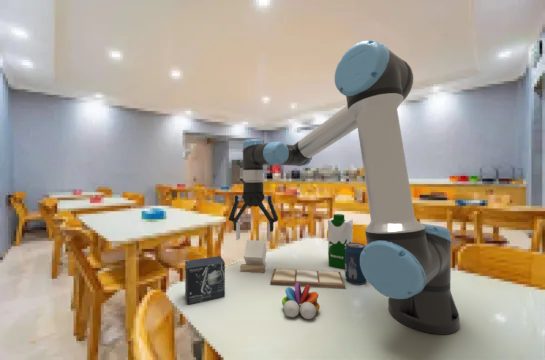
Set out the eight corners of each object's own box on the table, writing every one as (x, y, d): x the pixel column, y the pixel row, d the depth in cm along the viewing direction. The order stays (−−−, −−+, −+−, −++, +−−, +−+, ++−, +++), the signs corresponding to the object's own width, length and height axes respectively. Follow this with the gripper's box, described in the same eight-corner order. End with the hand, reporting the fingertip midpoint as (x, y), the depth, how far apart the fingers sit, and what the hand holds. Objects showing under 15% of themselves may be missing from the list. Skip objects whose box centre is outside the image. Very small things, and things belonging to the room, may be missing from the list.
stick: (264, 272, 89) (264, 267, 89) (240, 271, 90) (240, 266, 90) (265, 270, 91) (265, 265, 91) (241, 269, 92) (241, 264, 92)
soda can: (363, 276, 85) (363, 242, 85) (369, 285, 78) (369, 248, 78) (343, 275, 85) (343, 241, 85) (347, 284, 79) (347, 247, 78)
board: (345, 288, 76) (345, 284, 76) (270, 284, 79) (270, 280, 79) (340, 274, 87) (340, 270, 87) (274, 271, 90) (274, 267, 90)
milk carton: (325, 266, 94) (325, 214, 94) (333, 259, 102) (333, 211, 102) (348, 271, 90) (348, 216, 89) (354, 263, 97) (354, 213, 97)
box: (187, 306, 66) (186, 268, 66) (184, 295, 72) (184, 260, 72) (225, 297, 71) (225, 261, 71) (220, 288, 77) (220, 255, 77)
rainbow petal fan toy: (319, 323, 58) (319, 293, 58) (279, 318, 60) (279, 289, 60) (319, 305, 67) (319, 278, 67) (284, 301, 69) (284, 275, 69)
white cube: (262, 257, 90) (264, 240, 95) (243, 256, 91) (247, 240, 96) (264, 266, 95) (266, 250, 100) (246, 265, 96) (249, 249, 101)
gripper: (285, 181, 94) (285, 238, 94) (225, 181, 97) (226, 236, 97) (283, 181, 86) (284, 243, 87) (219, 181, 89) (220, 241, 90)
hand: (253, 239), depth 92 cm, fingers open, 11 cm apart
